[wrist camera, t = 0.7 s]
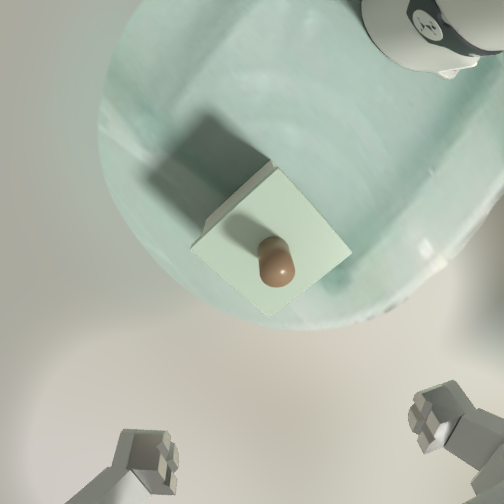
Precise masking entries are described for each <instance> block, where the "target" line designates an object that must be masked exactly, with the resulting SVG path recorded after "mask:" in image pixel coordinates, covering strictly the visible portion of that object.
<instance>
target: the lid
mask: <svg viewBox="0 0 504 504" xmlns="http://www.w3.org/2000/svg"><path fill="white" fill-rule="evenodd" d="M190 250H191V251H192V252H193V253H194V254H196V255H197V256H198V257H199V258H200V259H201V260H202V261H203V262H205V263H206V264H207V265H208V266H209V267H210V268H211V269H213V270H214V271H215V272H216V273H217V274H218V275H219V276H220V277H222V278H223V279H224V280H225V281H226V282H227V283H229V284H230V285H231V286H232V287H233V288H234V289H235V290H237V291H238V292H239V293H240V294H241V295H242V296H244V297H245V298H246V299H247V300H248V301H249V302H251V303H252V304H253V305H254V306H255V307H256V308H258V309H259V310H260V311H261V312H262V313H263V314H265V315H266V316H267V317H268V318H269V317H270V316H272V315H273V314H274V313H276V312H277V311H278V310H280V309H281V308H282V307H284V306H285V305H286V304H288V303H289V302H290V301H292V300H293V299H294V298H296V297H297V296H298V295H300V294H301V293H302V292H304V291H305V290H306V289H307V288H309V287H310V286H311V285H313V284H314V283H315V282H316V281H318V280H319V279H320V278H321V277H323V276H324V275H325V274H327V273H328V272H329V271H330V270H332V269H333V268H334V267H335V266H337V265H338V264H339V263H340V262H342V261H343V260H344V259H345V258H347V257H348V256H349V255H350V254H351V253H352V251H351V250H350V248H349V247H348V246H347V244H346V243H345V242H344V241H343V240H342V238H341V237H340V236H339V235H338V234H337V233H336V231H335V230H334V229H333V228H332V227H331V226H330V224H329V223H328V222H327V221H326V220H325V219H324V217H323V216H322V215H321V214H320V213H319V212H318V210H317V209H316V208H315V207H314V206H313V205H312V204H311V203H310V201H309V200H308V199H307V198H306V197H305V196H304V195H303V194H302V192H301V191H300V190H299V189H298V188H297V187H296V186H295V185H294V184H293V182H292V181H291V180H290V179H289V178H288V177H287V176H286V175H285V174H284V173H283V172H282V170H281V169H280V168H279V167H278V166H277V167H275V168H274V169H273V170H272V171H271V172H270V173H269V174H268V175H266V176H265V177H264V178H263V179H262V180H261V181H260V182H259V183H258V184H256V185H255V186H254V187H253V188H252V189H251V190H250V191H249V192H248V193H246V194H245V195H244V196H243V197H242V198H241V199H240V200H239V201H238V202H237V203H236V204H234V205H233V206H232V207H231V208H230V209H229V210H228V211H227V212H226V213H225V214H224V215H223V216H221V217H220V218H219V219H218V220H217V221H216V222H215V223H214V224H213V225H212V226H211V227H210V228H209V229H208V230H207V231H206V232H204V233H203V234H202V235H201V236H200V237H199V238H198V239H197V240H196V241H195V242H194V243H193V244H192V245H191V248H190Z"/></svg>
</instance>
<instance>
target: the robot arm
mask: <svg viewBox="0 0 504 504" xmlns="http://www.w3.org/2000/svg"><path fill="white" fill-rule="evenodd" d="M361 11H362V17H363V21H364V24H365V27H366V29H367V31H368V33H369V35H370V37H371V38H372V40H373V41H374V43H375V44H376V45H377V46H378V48H379V49H380V50H381V51H382V52H383V53H384V54H385V55H386V56H388V57H389V58H390V59H391V60H393V61H394V62H396V63H397V64H399V65H401V66H403V67H405V68H408V69H411V70H416V71H426V72H432V73H434V74H436V75H437V76H439V77H441V78H443V79H447V80H448V79H452V78H454V77H455V76H456V74H457V73H458V71H459V70H460V69H463V68H469V67H474V66H476V65H477V61H478V60H479V59H480V57H488V56H492V55H496V54H499V53H501V52H503V51H504V0H362V3H361ZM413 400H414V402H415V403H414V404H413V405H412V406H411V407H410V410H409V413H408V421H409V425H410V427H411V429H412V432H414V433H416V434H418V435H419V436H418V440H417V442H418V443H419V445H420V447H421V449H422V451H423V453H424V454H427V453H429V452H432V451H435V450H437V449H440V448H442V447H444V448H445V449H446V450H448V451H449V452H451V453H452V454H454V455H455V456H457V457H458V458H460V459H461V460H463V461H465V462H466V463H467V464H469V465H471V466H472V467H474V468H475V469H477V470H478V471H479V472H478V474H477V475H476V476H475V477H474V478H473V479H472V482H471V485H472V487H473V489H474V491H475V494H476V497H474V498H472V499H470V500H468V501H467V502H465V503H463V504H504V419H503V418H500V417H498V416H496V415H493V414H491V413H489V412H487V411H485V410H482V409H480V408H478V409H476V408H475V407H474V406H473V404H472V403H471V401H470V400H469V399H468V397H467V396H466V394H465V393H464V392H463V390H462V389H461V388H460V386H459V385H458V384H457V382H456V381H454V380H451V381H448V382H445V383H443V384H439V385H436V386H433V387H431V388H428V389H425V390H422V391H419V392H417V393H416V394H415V395H414V398H413ZM170 440H171V436H170V434H169V432H168V431H158V430H157V431H156V430H137V429H123V430H122V432H121V433H120V437H119V440H118V444H117V448H116V452H115V455H114V459H113V462H112V466H111V467H107V468H106V469H105V470H103V471H102V472H101V473H100V474H99V475H98V476H97V477H95V478H94V479H93V480H92V481H91V482H90V483H89V484H87V485H86V486H85V487H84V488H83V489H82V490H81V491H79V492H78V493H77V494H76V495H74V496H73V497H72V498H71V499H70V500H69V501H67V502H66V503H65V504H145V503H146V502H147V501H148V499H149V498H150V497H151V494H158V495H176V486H177V478H176V477H175V475H174V472H175V471H176V470H177V469H178V466H179V456H178V451H177V448H176V445H175V444H174V443H172V442H171V441H170Z"/></svg>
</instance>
